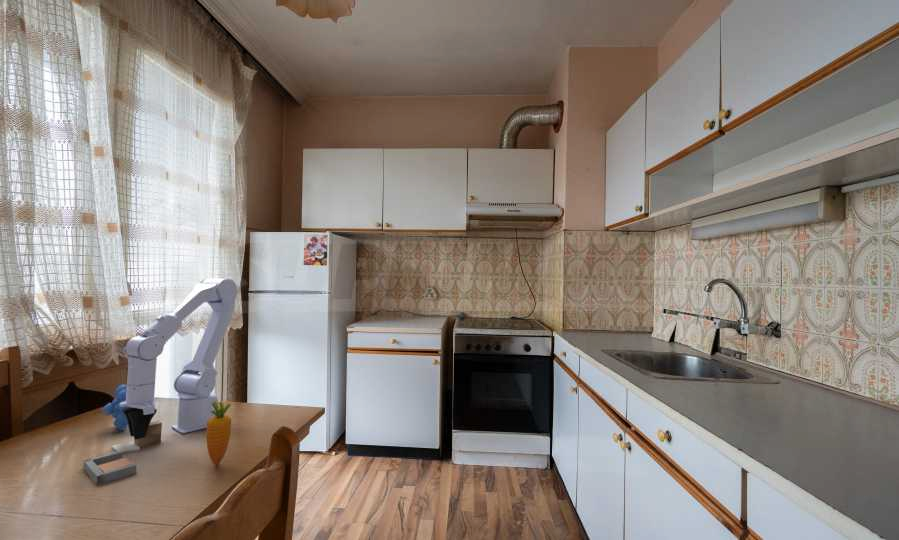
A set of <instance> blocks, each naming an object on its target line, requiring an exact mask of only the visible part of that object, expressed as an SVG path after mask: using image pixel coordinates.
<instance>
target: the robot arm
mask: <svg viewBox="0 0 899 540" xmlns="http://www.w3.org/2000/svg"><path fill="white" fill-rule="evenodd" d="M238 293H239V289H238V286H237V284H236V283H235V281H234V280H233V279H231V278H210V277H205V278H202V279H201V280H200V281H198V283H196V284H195V285H194V287H193V289H192V291H191V292H190V293H189V294H188V295H187V296H186V297H185V299H183V300H182V301H181V302H180V304H178V306H176V308H175V309H174V310H173V311H171V313H164V314H162V315H158V316H157V317H156V318H155V321H154V322H152V324H151V325H150V326H148V327H147V328H146V329H143V330H142V331H141V332H140V335H137V336H133V337H131V338H130V339H129V340H128V341H127V343H126V345H125V347H123V348H122V350H123V354H124V355H125V356H126V358H127V363H128V367H127V378H126V379H127V380H126V386H127V392H126V401H125V402H122V403H120V406H121V407H129V408H124V409H122V411H123V413H124V414H125V416H126V419H127V422H128V426H127V427H128V431H129V435H130V437H133V439H134V440H135V439H140V438H144V437H145V436H146V433H147V430H148V427H149V424H150V422H152V419H153V418H154V416H155V415H156V414H157V410H158V409H157V408H156V405H155V403H156V402H155V401H156V398H155V391H156V388H155V387H156V375H157V374H156V373H157V360H158V359H157V357H159V356H160V355H162V353H163V351H164V347H165V345H166V344H167V342H168V341H169V340H170V339H172V337H174V335H175V334H176V333H177V332H178V331H180V330H181V328H182V327H183V321H184V320H185V319H186V318H187V317H189V316H190V315H191V314H193V312H195V311H196V310H197V309H198V308H199V307H201V306H202V305H203V304H204V303H207V304H208V305H209V306H210V308H211V309H212V313H211V314H210V318H209V320H208V322H207V324H206V327H205V330H204V332H203V334H202V337H201V340H200V341H199V345H198V347H197V348H196V350H195V354H194V356H193V358H192V360H191V361H190V362H189V363H187V364H186V365H184V366H183V368H182V369H181V372H180V373H179V374H177V376H176V378H175V379H174V382H173V389H174V391H176V392H177V396H178V409H177V410H178V413H177V423H175V424H173V425H171V428H173V429H174V430H176V431H177V432H178V433H180V434H186V433H187V434H188V433H191V432H195V431H200V430H202V429H207V421H208V420H209V419H210V418H212V417H214V416H216V415H214V414H213V413H212V412H210V411H211V410H214V411H215V409H214V407H213V405H212V404H211V403H212V402H213V401H216V402H217V404H218V405H219V398H218V396H217V394H216V393H215V392H213V391H214V389H215V388H216V378H217V375H218V371H217V369H216V367H215V366H214V363H215V360H216V358H217V355H218V353H219V351H220V348H221V346H222V343H223V340H224V338H225V335H226V333H227V330H228V327H229V325H230V322H231V319H232V318H233V315H234V313H235V310H236V309H235V308H236V307H235V306H236V298H237V296H238ZM215 412H216V411H215Z"/></svg>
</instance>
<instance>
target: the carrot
mask: <svg viewBox="0 0 899 540" xmlns="http://www.w3.org/2000/svg"><path fill="white" fill-rule="evenodd" d="M211 404H212V405H213V407H214V409H215V411H216V412H215V411H214V410H211V411H210V412H212V413H213V414H214V415H216V416H214V417H212V418H210V419H209V420H208V421H207V428H206V433H205V435H206V446H207V447H206V448H207V451H208V452H207V453H208V456H209V458H210V460H211V462H212V464H213V465H214V466H215V467H218V465H220V464H221V462H222V460H223V458H224V457H225V454H226V452H227V450H228V445H229V442H230V436H231V430H232V429H231V428H232V418H231V417H230V416H228V415H226V413H227V410H228V409H229V408H230V407H231V405H232V404H231V403H230V402H227V404H225V405H224V402H222V401H221V402H218V404H217V402H216V401H213V402H212V403H211Z"/></svg>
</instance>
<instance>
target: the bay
mask: <svg viewBox="0 0 899 540" xmlns="http://www.w3.org/2000/svg"><path fill="white" fill-rule="evenodd" d="M123 455H124V454H123V452H122V451H119V452H115V451H114V452H111V453H108V454H105V455H101V456H96V457H92V458H88V459H85V460H83V467H82V468H83V471H84V472H85V473H86V474H87V475H88V477H89V478H90V479H91V481H92V482H93V483H94V484H95V485H96V486H98V485H102V484H105V483H108V482H112V481H115V480H117V479H121V478H124V477H125V478H126V477H128V476H131V475H134V474H137V466H138V465H137V464H136V463H133V464H132V465H128V466H125V467H121V468H118V469H114V470H111V471H107V472H104V473H103V472H102V471H101V469H100V468H99V467H98V465H101V464H105V463H108V462H112V461H115V460H119V459H122V458H124V457H123Z"/></svg>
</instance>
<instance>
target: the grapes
mask: <svg viewBox="0 0 899 540" xmlns="http://www.w3.org/2000/svg"><path fill="white" fill-rule="evenodd" d="M126 392H127V384H120V385H119V386H118V387H117V388H116V390H114V393H113V395H114V396H115V397H114V398H113V400H112V402H108V403H107V404H106V405H105V406H104V407H103V408H102V409H101V411H102V412H103V413H104V414H106V415H107V416H112V418H113V419H115V420H114V422H113V423H112V425H114V427H115V428H117V430H120V431H122V430H123V431H124V430H125V429H127V427H129V426H128V422H127V419H126V416H125V414H124V413H123V411H122V409H124V408H129V407H121V406H120V403H122V402H125V401H126Z"/></svg>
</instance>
